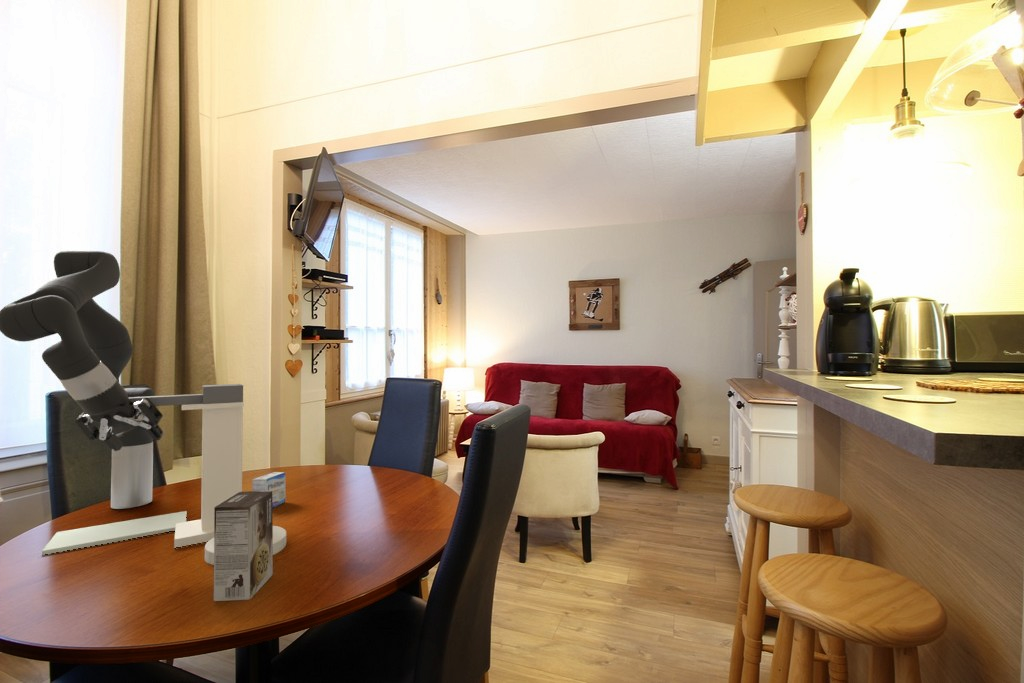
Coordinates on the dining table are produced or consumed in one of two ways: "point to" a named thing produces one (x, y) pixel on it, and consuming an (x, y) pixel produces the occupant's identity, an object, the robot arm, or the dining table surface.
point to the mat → (113, 532)
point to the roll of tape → (278, 544)
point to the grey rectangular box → (243, 545)
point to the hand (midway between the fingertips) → (139, 443)
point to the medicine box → (272, 486)
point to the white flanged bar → (215, 467)
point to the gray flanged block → (200, 396)
